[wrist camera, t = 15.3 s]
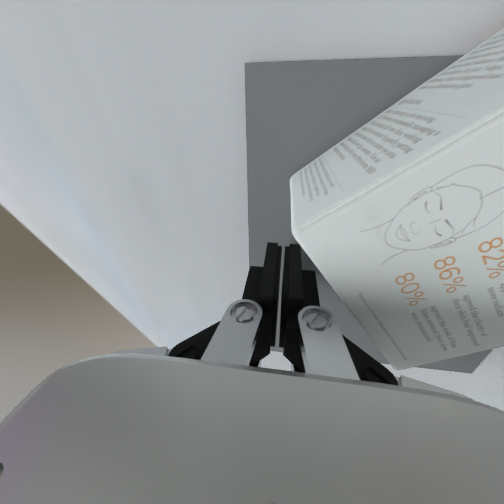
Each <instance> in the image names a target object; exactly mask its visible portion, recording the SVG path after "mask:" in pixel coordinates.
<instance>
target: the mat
mask: <svg viewBox="0 0 504 504" xmlns="http://www.w3.org/2000/svg"><path fill="white" fill-rule="evenodd" d="M462 56H464V55H461V56H432V57H402V58H373V59H343V60H313V61H284V62H254V63H245V95H246V138H247V181H248V224H249V267H250V266H260V267H263V265H264V260H265V254H266V248H267V242H272V243H278V246H282V254H281V270H280V285H279V300H278V314H277V328H276V342H275V347H272V346H270V351H278V352H283V348H281V347H279V334H280V314H281V294H282V280H283V267H284V255H285V246H289V244H299V243H298V242H297V240H296V239H295V238H294V236H293V234H292V230H291V194H290V178H291V177H292V176H293V175H294V174H295V173H296V172H298V171H299V170H301V169H302V168H303V167H305V166H306V165H308V164H309V163H311V162H312V161H313V160H315V159H316V158H317V157H319V156H320V155H322V154H323V153H325V152H326V151H327V150H329V149H330V148H332V147H333V146H335V145H336V144H337V143H339V142H340V141H342V140H343V139H345V138H346V137H347V136H349V135H350V134H352V133H353V132H355V131H356V130H358V129H359V128H361V127H362V126H363V125H365V124H366V123H368V122H369V121H371V120H372V119H373V118H375V117H376V116H378V115H379V114H380V113H382V112H383V111H385V110H386V109H388V108H389V107H391V106H392V105H394V104H395V103H396V102H398V101H399V100H400V99H402V98H403V97H405V96H406V95H407V94H409V93H410V92H412V91H413V90H414V89H416V88H417V87H419V86H420V85H422V84H423V83H424V82H426V81H427V80H429V79H430V78H432V77H433V76H435V75H436V74H438V73H439V72H441V71H442V70H444V69H445V68H447V67H448V66H449V65H451V64H452V63H454V62H455V61H457V60H458V59H460V58H461V57H462ZM301 259H302V270H312V271H315V274H316V281H317V288H318V295H319V302H320V307H322V308H325V309H327V310H328V311H330V312H331V313H332V314H333V315H334V317H335V319H336V321H337V324H338V326H339V329H340V331H341V334H342V335H344V336H345V337H346V338H348V339H349V340H350V341H351V342H353V343H354V344H355V345H357V346H358V347H359V348H361V349H362V350H363V351H365V352H366V353H367V354H368V355H370V356H371V357H372V358H374V359H375V360H376V361H378V362H379V363H384V364H390V363H389V362H388V360H387V359H386V358H385V356H384V355H383V354H382V352H381V351H380V350H379V349H378V347H377V346H376V345H375V343H374V342H373V341H372V340H371V338H370V337H369V336H368V334H367V333H366V331H365V330H364V329H363V327H362V326H361V325H360V323H359V322H358V321H357V320H356V318H355V317H354V316H353V314H352V313H351V312H350V310H349V309H348V308H347V307H346V305H345V304H344V303H343V301H342V300H341V299H340V297H339V296H338V295H337V293H336V292H335V291H334V289H333V288H332V287H331V285H330V284H329V283H328V281H327V280H326V279H325V278H324V276H323V275H322V274H321V272H320V271H319V270H318V268H317V267H316V266H315V264H314V263H313V262H312V260H311V259H310V258H309V256H308V255H307V254H306V252H305V251H304V250H303V248H302V247H301ZM491 350H492V349H489V350H485V351H480V352H476V353H472V354H468V355H464V356H460V357H455V358H450V359H446V360H441V361H437V362H432V363H428V364H424V365H420V366H415V367H419V368H428V369H437V370H446V371H455V372H464V373H472V372H473V371H474V370H475V369H476V368H477V366H478V365H479V364H480V363H481V362H482V361H483V360H484V358H485V357H486V356H487V355H488V354H489V353H490V351H491Z"/></svg>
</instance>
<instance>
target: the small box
mask: <svg viewBox="0 0 504 504" xmlns="http://www.w3.org/2000/svg"><path fill="white" fill-rule="evenodd" d="M290 194H291V230H292V234H293V236H294V238H295V239H296V240H297V242H298V243H299V244H300V246H301V247H302V248H303V250H304V251H305V252H306V254H307V255H308V256H309V258H310V259H311V260H312V262H313V263H314V264H315V266H316V267H317V268H318V270H319V271H320V272H321V274H322V275H323V276H324V278H325V279H326V280H327V281H328V283H329V284H330V285H331V287H332V288H333V289H334V291H335V292H336V293H337V295H338V296H339V297H340V299H341V300H342V301H343V303H344V304H345V305H346V307H347V308H348V309H349V310H350V312H351V313H352V314H353V316H354V317H355V318H356V320H357V321H358V322H359V323H360V325H361V326H362V327H363V329H364V330H365V331H366V333H367V334H368V336H369V337H370V338H371V340H372V341H373V342H374V343H375V345H376V346H377V347H378V349H379V350H380V351H381V352H382V354H383V355H384V356H385V358H386V359H387V360H388V362H389V363H390V364H391V366H392V367H393V368H394V369H396V370H402V369H407V368H411V367H415V366H420V365H424V364H428V363H432V362H437V361H441V360H446V359H450V358H455V357H460V356H464V355H468V354H472V353H476V352H480V351H485V350H489V349H493V348H497V347H502V346H504V28H502V29H501V30H500V31H498V32H497V33H495V34H494V35H492V36H491V37H490V38H488V39H487V40H485V41H484V42H482V43H481V44H480V45H478V46H477V47H475V48H474V49H472V50H471V51H470V52H468V53H467V54H465V55H464V56H462V57H461V58H460V59H458V60H457V61H455V62H454V63H452V64H451V65H449V66H448V67H447V68H445V69H444V70H442V71H441V72H439V73H438V74H436V75H435V76H433V77H432V78H430V79H429V80H427V81H426V82H424V83H423V84H422V85H420V86H419V87H417V88H416V89H414V90H413V91H412V92H410V93H409V94H407V95H406V96H405V97H403V98H402V99H400V100H399V101H398V102H396V103H395V104H394V105H392V106H391V107H389V108H388V109H386V110H385V111H383V112H382V113H380V114H379V115H378V116H376V117H375V118H373V119H372V120H371V121H369V122H368V123H366V124H365V125H363V126H362V127H361V128H359V129H358V130H356V131H355V132H353V133H352V134H350V135H349V136H347V137H346V138H345V139H343V140H342V141H340V142H339V143H337V144H336V145H335V146H333V147H332V148H330V149H329V150H327V151H326V152H325V153H323V154H322V155H320V156H319V157H317V158H316V159H315V160H313V161H312V162H311V163H309V164H308V165H306V166H305V167H303V168H302V169H301V170H299V171H298V172H296V173H295V174H294V175H293V176H292V177H291V178H290Z"/></svg>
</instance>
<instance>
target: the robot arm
mask: <svg viewBox="0 0 504 504" xmlns="http://www.w3.org/2000/svg"><path fill="white" fill-rule="evenodd" d="M281 254H282V246H278V243H272V242H267V248H266V254H265V260H264V265H263V267H260V266H250V269H249V273H248V277H247V281H246V285H245V289H244V293H243V297H242V300H238V301H235V302H233V303H232V304H230V306H229V307H228V308H227V310H226V312H225V314H224V316H223V318H222V320H221V321H219V322H217V323H216V324H214V325H212V326H210V327H208V328H206V329H205V330H203V331H201V332H199V333H197V334H196V335H194V336H192V337H190V338H188V339H186V340H185V341H183V342H181V343H179V344H178V345H176V346H175V347H174V348H173V349H168V348H167V347H156V348H146V349H135V350H124V351H117V352H113V353H111V354H107V355H99V356H94V357H90V358H85V359H82V360H79V361H75V362H73V363H70V364H68V365H65V366H63V367H61V368H60V369H58V370H56V371H55V372H53V373H52V374H50V375H49V376H48V377H47V378H46V379H44V380H43V381H42V382H41V383H40V384H38V386H36V387H35V388H34V389H33V390H32V391H31V392H30V393H29V394H28V395H27V396H26V397H25V398H24V399H23V400H22V401H21V402H20V403H19V404H18V405H17V406H16V407H15V408H14V409H13V410H12V411H11V412H10V413H9V414H8V415H7V416H6V417H5V418H4V419H3V421H2V422H1V423H0V504H504V411H502V410H499V409H497V408H495V407H492V406H489V405H486V404H483V403H480V402H477V401H474V400H472V399H471V398H468V397H466V396H464V395H462V394H458V393H455V392H452V391H449V390H446V389H443V388H440V387H436V386H433V385H430V384H427V383H424V382H421V381H418V380H414V379H411V378H408V377H405V376H402V375H401V376H400V378H398V377H395V376H394V375H393V374H392V373H391V372H390V371H389V370H388V369H387V368H385V367H384V366H383V365H382V364H380V363H379V362H378V361H376V360H375V359H374V358H372V357H371V356H370V355H368V354H367V353H366V352H365V351H363V350H362V349H361V348H359V347H358V346H357V345H355V344H354V343H353V342H351V341H350V340H349V339H348V338H346V337H345V336H344V335H342V334H341V331H340V329H339V326H338V324H337V321H336V319H335V317H334V315H333V314H332V313H331V312H330V311H328V310H327V309H325V308H322V307H320V302H319V295H318V288H317V281H316V274H315V271H312V270H302V259H301V246H300V244H289V246H285V255H284V267H283V280H282V294H281V314H280V334H279V347H281V348H283V356H285V357H286V358H287V359H288V360H289V361H290V362H291V370H292V371H285V370H277V369H269V368H261V367H260V366H261V359H263V358H264V357H265V356H267V355H268V354H270V346H272V347H275V342H276V328H277V314H278V300H279V285H280V270H281Z"/></svg>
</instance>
